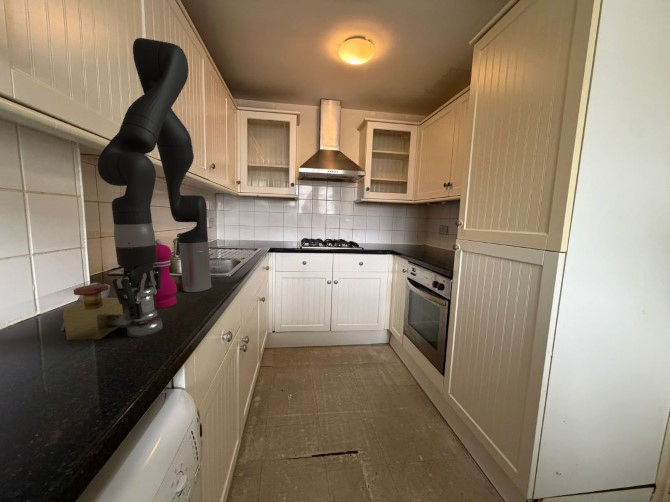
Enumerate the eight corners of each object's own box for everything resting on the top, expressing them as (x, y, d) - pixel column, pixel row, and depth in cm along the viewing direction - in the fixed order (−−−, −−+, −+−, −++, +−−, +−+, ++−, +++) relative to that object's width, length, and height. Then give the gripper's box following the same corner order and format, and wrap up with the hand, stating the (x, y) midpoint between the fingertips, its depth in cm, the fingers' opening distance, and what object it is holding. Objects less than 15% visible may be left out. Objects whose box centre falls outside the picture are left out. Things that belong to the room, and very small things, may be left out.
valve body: (95, 324, 69) (89, 283, 67) (169, 322, 70) (165, 282, 69) (66, 339, 61) (59, 293, 60) (150, 337, 62) (145, 292, 61)
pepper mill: (173, 298, 89) (167, 237, 85) (182, 304, 84) (176, 239, 81) (147, 304, 83) (140, 239, 80) (155, 310, 79) (147, 241, 75)
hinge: (83, 308, 80) (94, 276, 80) (103, 311, 82) (113, 279, 82) (59, 331, 65) (72, 291, 65) (85, 334, 68) (97, 295, 68)
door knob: (161, 313, 68) (158, 286, 67) (149, 321, 63) (145, 292, 62) (139, 313, 68) (136, 286, 67) (125, 322, 63) (121, 293, 62)
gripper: (132, 248, 56) (141, 326, 59) (169, 239, 70) (175, 303, 73) (93, 248, 56) (104, 327, 58) (138, 240, 70) (146, 303, 72)
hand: (144, 313), depth 66 cm, fingers closed on door knob, 5 cm apart
